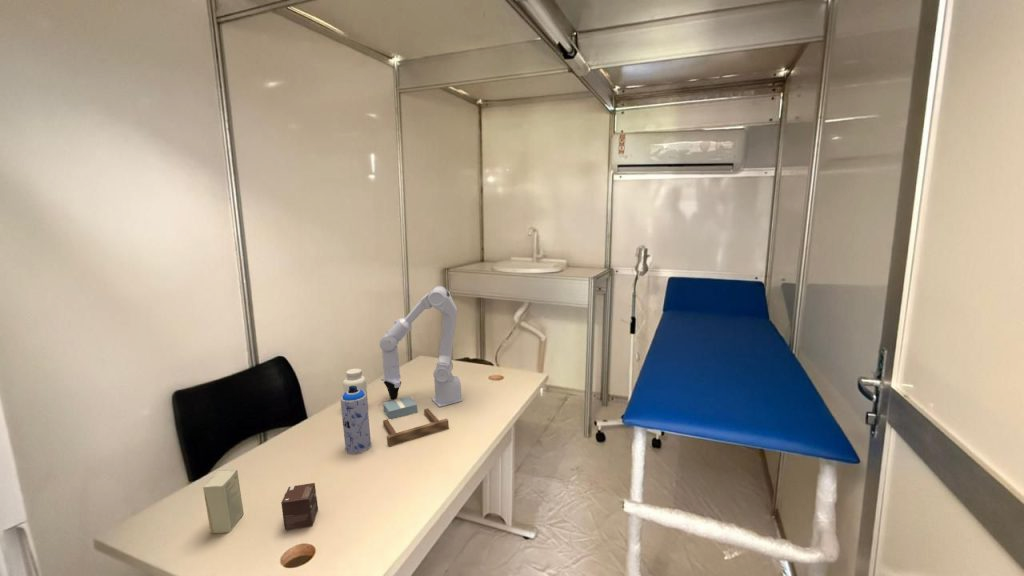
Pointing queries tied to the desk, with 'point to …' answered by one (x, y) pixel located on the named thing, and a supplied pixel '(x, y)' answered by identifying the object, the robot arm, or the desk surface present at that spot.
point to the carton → (400, 407)
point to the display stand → (415, 429)
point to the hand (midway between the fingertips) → (393, 399)
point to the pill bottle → (355, 380)
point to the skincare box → (223, 501)
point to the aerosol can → (355, 421)
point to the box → (299, 506)
